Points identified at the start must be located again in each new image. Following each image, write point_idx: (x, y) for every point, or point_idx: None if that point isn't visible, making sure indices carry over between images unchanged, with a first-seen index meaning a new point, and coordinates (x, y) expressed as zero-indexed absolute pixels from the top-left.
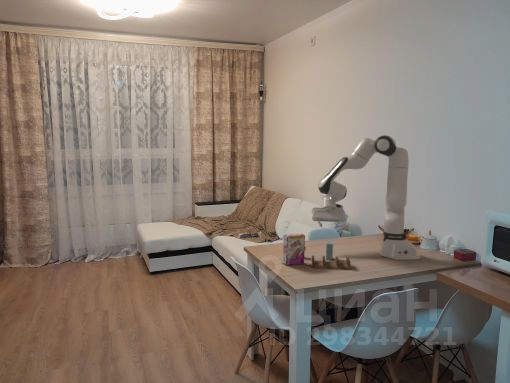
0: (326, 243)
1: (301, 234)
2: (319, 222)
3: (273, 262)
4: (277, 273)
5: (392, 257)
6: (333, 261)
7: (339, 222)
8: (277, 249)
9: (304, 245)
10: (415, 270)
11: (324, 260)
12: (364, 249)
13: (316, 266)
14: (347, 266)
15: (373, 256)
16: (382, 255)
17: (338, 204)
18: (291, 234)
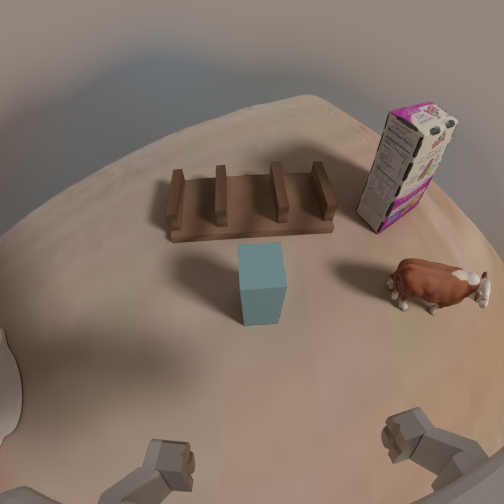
0: (284, 270)
1: (409, 117)
2: (444, 431)
3: (441, 210)
4: None
5: (2, 336)
6: (237, 230)
7: (115, 497)
8: (496, 375)
9: (376, 152)
10: (11, 232)
11: (274, 163)
12: (71, 494)
13: (300, 174)
14: (186, 187)
15: (47, 375)
16: (18, 375)
17: None
18: (439, 118)
